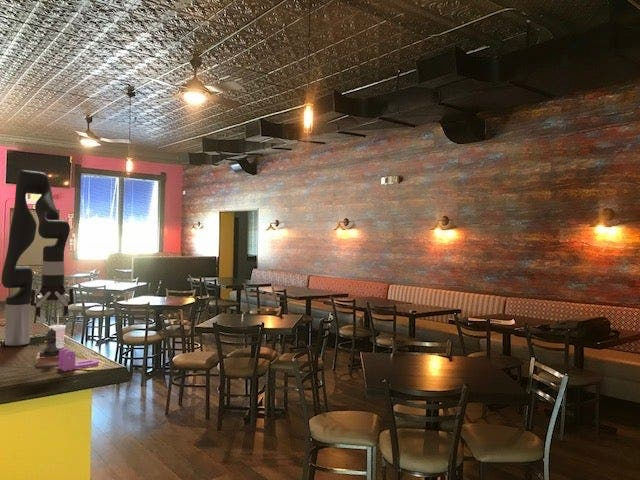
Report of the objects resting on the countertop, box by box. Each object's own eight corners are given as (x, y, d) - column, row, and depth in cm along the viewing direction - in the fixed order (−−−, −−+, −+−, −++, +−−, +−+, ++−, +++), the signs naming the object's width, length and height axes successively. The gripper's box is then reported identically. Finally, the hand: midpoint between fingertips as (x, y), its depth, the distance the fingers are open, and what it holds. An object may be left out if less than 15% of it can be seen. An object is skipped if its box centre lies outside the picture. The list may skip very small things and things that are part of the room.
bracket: (64, 371, 181) (64, 352, 181) (58, 368, 185) (59, 349, 185) (101, 365, 190) (101, 346, 190) (95, 362, 194) (95, 344, 194)
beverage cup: (68, 346, 217) (69, 313, 217) (59, 349, 211) (60, 315, 211) (54, 345, 218) (55, 312, 217) (45, 348, 212) (46, 315, 211)
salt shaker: (52, 361, 189) (53, 329, 188) (38, 360, 190) (39, 328, 190) (63, 358, 194) (64, 326, 194) (49, 356, 196) (50, 325, 195)
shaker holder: (36, 359, 195) (36, 351, 195) (65, 357, 199) (65, 349, 199) (35, 367, 185) (35, 358, 185) (66, 364, 190) (66, 356, 190)
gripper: (73, 272, 198) (72, 313, 198) (31, 272, 191) (30, 315, 192) (74, 274, 191) (73, 317, 192) (30, 274, 185) (29, 319, 185)
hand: (52, 316), depth 192 cm, fingers open, 8 cm apart
